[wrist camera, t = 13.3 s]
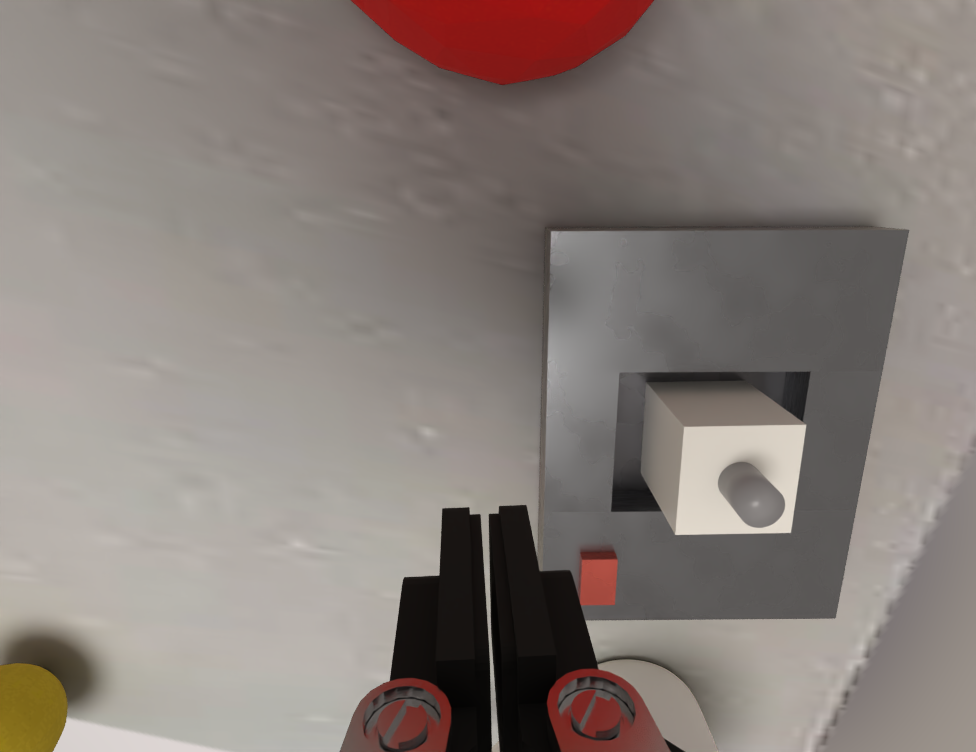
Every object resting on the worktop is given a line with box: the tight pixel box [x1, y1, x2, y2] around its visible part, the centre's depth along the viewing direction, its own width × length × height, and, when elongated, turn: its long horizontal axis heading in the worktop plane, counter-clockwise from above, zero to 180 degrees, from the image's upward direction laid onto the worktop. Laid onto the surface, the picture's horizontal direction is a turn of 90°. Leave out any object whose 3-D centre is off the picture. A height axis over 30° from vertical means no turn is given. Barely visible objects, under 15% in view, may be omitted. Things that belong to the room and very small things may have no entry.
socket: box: [538, 226, 909, 620], centre depth 27 cm, size 18×14×3 cm
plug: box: [641, 381, 806, 535], centre depth 25 cm, size 4×4×8 cm
